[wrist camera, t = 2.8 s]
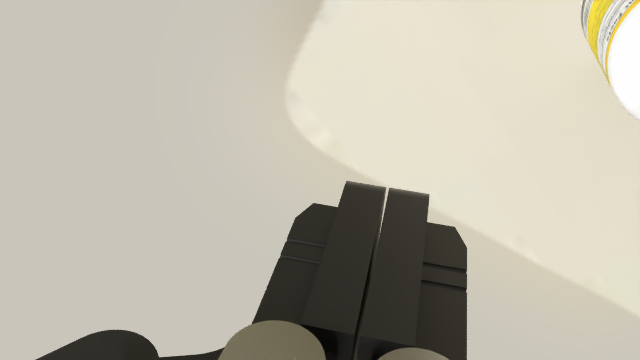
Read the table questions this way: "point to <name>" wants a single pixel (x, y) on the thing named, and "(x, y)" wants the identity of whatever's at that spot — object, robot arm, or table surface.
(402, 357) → the robot arm
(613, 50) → the supplement bottle
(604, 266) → the table surface
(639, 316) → the table surface
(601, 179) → the table surface
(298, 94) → the table surface
